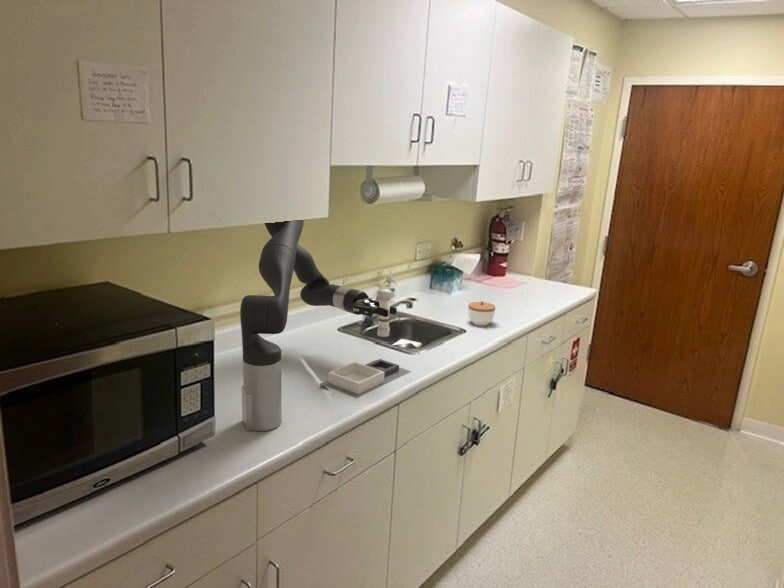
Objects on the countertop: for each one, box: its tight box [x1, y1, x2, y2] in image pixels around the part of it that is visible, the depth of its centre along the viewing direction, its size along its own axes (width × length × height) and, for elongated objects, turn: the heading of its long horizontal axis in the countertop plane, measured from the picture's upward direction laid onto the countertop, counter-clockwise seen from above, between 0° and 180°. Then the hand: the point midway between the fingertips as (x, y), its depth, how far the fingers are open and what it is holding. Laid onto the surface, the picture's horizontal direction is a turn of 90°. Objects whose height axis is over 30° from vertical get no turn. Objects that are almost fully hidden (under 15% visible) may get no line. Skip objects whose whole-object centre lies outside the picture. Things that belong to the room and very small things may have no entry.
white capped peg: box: [376, 288, 392, 338], centre depth 175 cm, size 4×4×14 cm
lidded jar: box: [467, 300, 496, 327], centre depth 234 cm, size 11×11×9 cm
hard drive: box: [392, 338, 422, 349], centre depth 204 cm, size 2×8×12 cm
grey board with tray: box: [319, 358, 412, 399], centre depth 175 cm, size 26×14×4 cm, turn 143°
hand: (391, 312), depth 173 cm, fingers closed on white capped peg, 3 cm apart
